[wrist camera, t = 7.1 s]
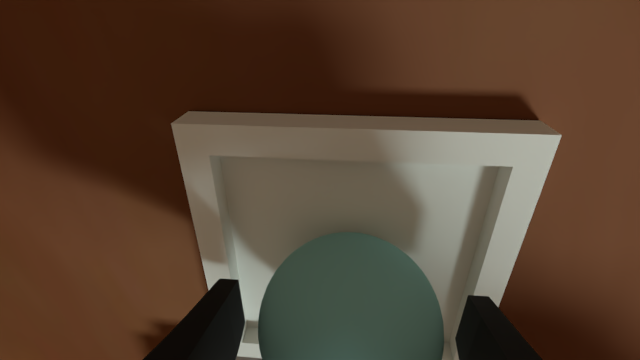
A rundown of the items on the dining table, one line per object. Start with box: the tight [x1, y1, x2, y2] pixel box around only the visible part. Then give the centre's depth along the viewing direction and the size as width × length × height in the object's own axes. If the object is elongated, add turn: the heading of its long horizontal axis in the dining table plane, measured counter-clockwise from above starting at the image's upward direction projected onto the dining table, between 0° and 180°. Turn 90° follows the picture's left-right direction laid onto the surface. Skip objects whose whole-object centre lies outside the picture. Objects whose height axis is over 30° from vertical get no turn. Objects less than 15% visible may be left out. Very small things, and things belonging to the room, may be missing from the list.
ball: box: [258, 232, 444, 360], centre depth 11 cm, size 6×6×6 cm
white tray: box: [171, 111, 562, 360], centre depth 13 cm, size 11×11×1 cm
